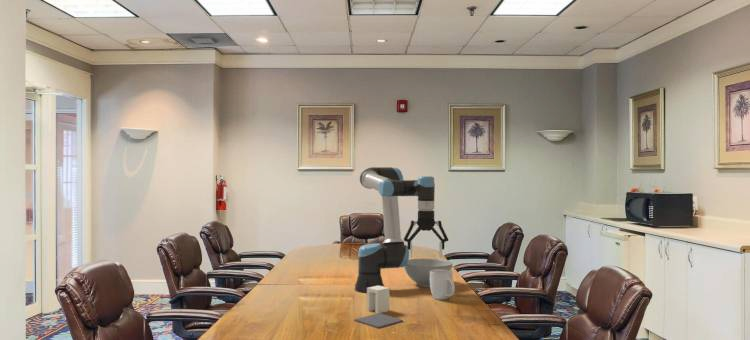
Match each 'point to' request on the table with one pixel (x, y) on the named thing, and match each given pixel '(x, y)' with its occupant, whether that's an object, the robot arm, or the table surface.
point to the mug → (441, 284)
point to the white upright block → (378, 299)
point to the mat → (378, 320)
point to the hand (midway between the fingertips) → (425, 256)
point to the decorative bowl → (425, 269)
